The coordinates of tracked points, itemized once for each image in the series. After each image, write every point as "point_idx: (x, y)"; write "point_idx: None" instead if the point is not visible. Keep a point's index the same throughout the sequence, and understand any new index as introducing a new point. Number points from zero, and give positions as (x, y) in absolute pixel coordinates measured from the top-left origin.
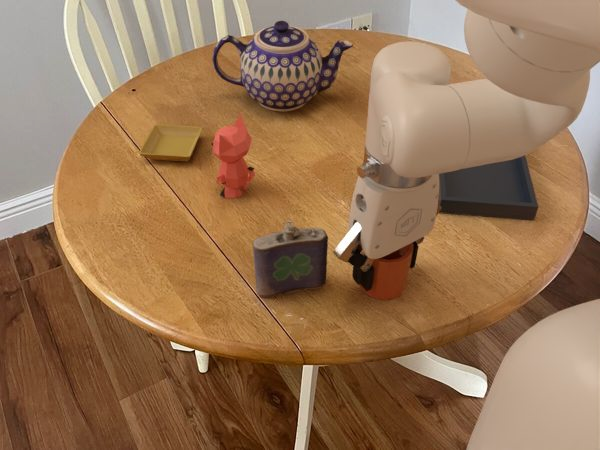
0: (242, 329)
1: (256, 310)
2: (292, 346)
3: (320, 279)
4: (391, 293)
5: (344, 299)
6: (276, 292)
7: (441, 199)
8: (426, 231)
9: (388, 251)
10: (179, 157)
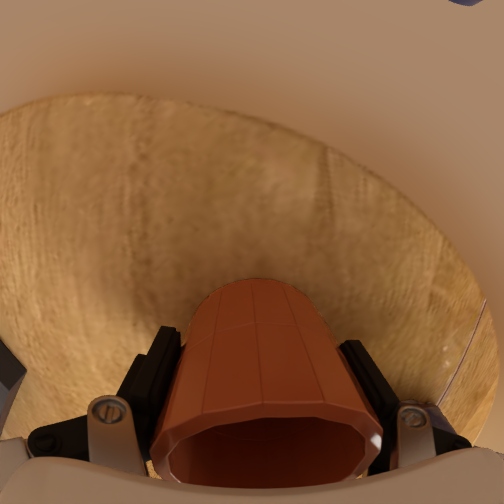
0: (484, 366)
1: (456, 388)
2: (487, 306)
3: None
4: (295, 296)
5: (368, 348)
6: (427, 407)
7: (8, 390)
8: (78, 496)
9: (441, 482)
10: None
